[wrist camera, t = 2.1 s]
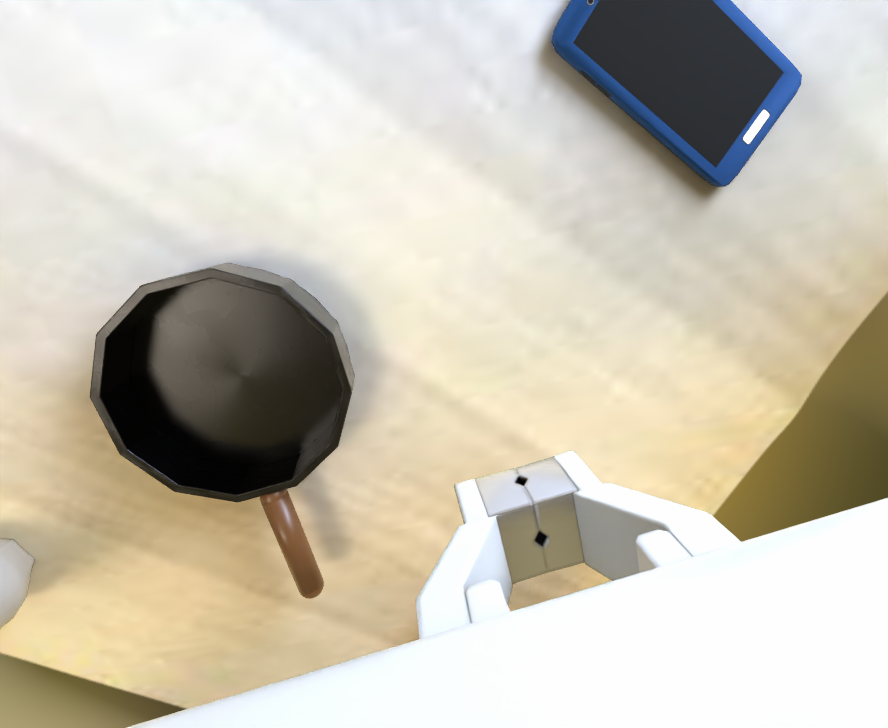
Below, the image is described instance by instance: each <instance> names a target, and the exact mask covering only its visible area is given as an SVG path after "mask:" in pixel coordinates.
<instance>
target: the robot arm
mask: <svg viewBox="0 0 888 728" xmlns="http://www.w3.org/2000/svg"><path fill="white" fill-rule="evenodd" d="M454 488H455V492H456V496H457V500H458V503H459V507H460V511H461V514H462V518H463V522H464V525H461V526H459V527H458V528H457V530H456V532H455V534H454V535H453V537H452V539H451V540H450V542H449V544H448V546H447V547H446V549H445V551H444V552H443V554H442V556H441V557H440V559H439V561H438V563H437V564H436V566H435V568H434V569H433V571H432V573H431V575H430V576H429V578H428V580H427V581H426V583H425V585H424V587H423V588H422V590H421V592H420V593H419V595H418V597H417V599H416V607H417V619H418V630H419V639H418V640H415V641H412V642H408V643H405V644H402V645H398V646H395V647H392V648H388V649H385V650H382V651H379V652H375V653H372V654H369V655H365V656H362V657H359V658H355V659H352V660H349V661H345V662H342V663H339V664H335V665H332V666H329V667H325V668H322V669H319V670H316V671H312V672H309V673H306V674H302V675H299V676H296V677H292V678H289V679H286V680H282V681H279V682H276V683H272V684H269V685H266V686H262V687H259V688H256V689H253V690H249V691H246V692H243V693H239V694H236V695H233V696H229V697H226V698H223V699H219V700H216V701H213V702H209V703H206V704H203V705H200V706H196V707H193V708H190V709H186V710H183V711H180V712H177V713H173V714H170V715H166V716H163V717H160V718H157V719H154V720H150V721H147V722H143V723H140V724H137V725H133V726H130V727H127V728H888V498H886V499H882V500H879V501H876V502H873V503H869V504H866V505H863V506H859V507H856V508H853V509H849V510H846V511H843V512H839V513H836V514H833V515H829V516H826V517H823V518H820V519H816V520H813V521H810V522H806V523H803V524H799V525H796V526H793V527H790V528H787V529H783V530H780V531H776V532H773V533H770V534H766V535H763V536H760V537H756V538H753V539H750V540H746V541H743V542H741V541H740V540H738V539H737V538H736V537H735V536H734V535H733V534H732V533H731V532H729V531H728V530H727V529H726V528H725V527H724V526H723V525H722V524H720V523H719V522H718V521H717V520H716V519H715V518H714V517H713V516H712V515H710V514H709V513H707V512H703V511H700V510H697V509H693V508H690V507H687V506H683V505H680V504H677V503H674V502H670V501H667V500H664V499H660V498H657V497H654V496H650V495H647V494H644V493H640V492H637V491H634V490H630V489H627V488H624V487H621V486H617V485H614V484H611V483H606V484H602V483H601V482H600V481H599V480H598V479H597V477H596V476H595V475H594V474H593V473H592V472H591V470H590V469H589V468H588V467H587V466H586V465H585V463H584V462H583V461H582V460H581V459H580V458H579V456H578V455H577V454H576V453H575V452H574V451H568V452H565V453H562V454H559V455H556V456H553V457H550V458H547V459H544V460H541V461H537V462H534V463H531V464H528V465H525V466H522V467H518V468H515V469H514V468H513V469H509V470H505V471H501V472H498V473H494V474H490V475H486V476H482V477H479V478H475V480H474V479H470V480H467V481H464V482H460V483H457V484H454ZM584 562H585V564H586V565H588V566H589V567H591V568H593V569H594V570H596V571H597V572H599V573H601V574H602V575H604V576H606V577H607V578H609V579H610V580H612V581H611V582H607V583H604V584H601V585H597V586H594V587H591V588H587V589H584V590H581V591H577V592H574V593H571V594H568V595H564V596H561V597H558V598H554V599H551V600H548V601H544V602H541V603H538V604H534V605H531V606H528V607H524V608H521V609H518V610H514V611H511V612H509V610H508V607H507V605H508V602H509V598H510V595H511V591H512V587H513V585H512V584H514V583H517V582H520V581H523V580H526V579H529V578H532V577H535V576H538V575H541V574H544V573H547V572H551V571H554V570H558V569H562V568H566V567H569V566H573V565H577V564H581V563H584Z"/></svg>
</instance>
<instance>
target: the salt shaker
mask: <svg viewBox="0 0 888 728" xmlns="http://www.w3.org/2000/svg"><path fill="white" fill-rule="evenodd" d="M33 563H34V559H33V558H32V557H31V556H30V555H29V554H28V553H27V552H26V551H25V550H23V549H22V548H21V547H20V546H19V545H18V544H17V543H16V542H15V541H14V540H7V539H0V628H1V627H3V626H4V625H5V624H6V623H8V622H9V621H10V620H11V619H13V617H14V616H15V614H16V613H17V611H18V610H19V608H20V607H21V605H22V603H23V602H24V600H25V598H26V597H27V592H28V587H29V582H30V576H31V571H32V567H33Z"/></svg>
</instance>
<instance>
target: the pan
mask: <svg viewBox="0 0 888 728" xmlns="http://www.w3.org/2000/svg"><path fill="white" fill-rule="evenodd" d="M353 382H354V371H353V368H352V365H351V362H350V357H349V353H348V348H347V345H346V343H345V340H344V338H343V335H342V333H341V331H340V328H339V324H338V322H337V321H336V320H335V319H334V318H333V317H332V316H331V315H330V314H329V312H328V311H327V310H326V309H325V308H324V307H323V306H322V305H321V303H320V302H319V301H318V300H317V299H316V298H314V297H313V296H312V295H311V294H309V293H308V292H307V291H306V290H304V289H303V288H301V287H300V286H298V285H297V284H296V283H295V282H294V281H293V280H291V279H288V278H284V277H281V276H279V275H276V274H273V273H270V272H267V271H264V270H260V269H256V268H251V267H243V266H239V265H236V264H232V263H225V264H221V265H217V266H213V267H209V268H205V269H200V270H197V271H193V272H189V273H185V274H181V275H177V276H173V277H169V278H165V279H162V280H158V281H155V282H151V283H147V284H144V285H142V286H140V287H139V288H138V289H137V290H136V291H135V292H134V294H133V295H132V296H131V297H130V298H129V299H128V300H127V301H126V302H125V303H124V304H123V306H122V307H121V308H120V309H119V310H118V311H117V312H116V313H115V314H114V315H113V316H112V318H111V319H110V320H109V321H108V322H107V323H106V324H105V325H104V326H103V327H102V328H101V330H100V331H99V332H98V333H97V335H96V342H95V352H94V361H93V371H92V381H91V390H90V398H91V400H92V402H93V404H94V406H95V408H96V410H97V412H98V414H99V415H100V417H101V419H102V421H103V423H104V425H105V427H106V429H107V431H108V433H109V435H110V436H111V438H112V440H113V442H114V444H115V446H116V448H117V450H118V452H119V454H120V455H122V456H123V457H124V458H126V459H127V460H129V461H130V462H132V463H133V464H135V465H136V466H138V467H139V468H141V469H142V470H143V471H145V472H146V473H148V474H149V475H151V476H152V477H154V478H155V479H157V480H158V481H160V482H161V483H162V484H164V485H165V486H167V487H168V488H170V489H171V490H173V491H175V492H179V493H185V494H191V495H197V496H203V497H209V498H215V499H221V500H227V501H233V502H241V501H245V500H248V499H252V498H255V497H259V496H260V501H261V504H262V506H263V508H264V511H265V513H266V515H267V518H268V520H269V522H270V525H271V527H272V529H273V532H274V534H275V536H276V539H277V541H278V543H279V546H280V548H281V550H282V553H283V555H284V557H285V560H286V562H287V564H288V567H289V569H290V571H291V574H292V576H293V578H294V581H295V583H296V585H297V588H298V590H299V592H300V594H301V595H302V596H303V597H305V598H309V599H310V598H314V597H316V596H318V595H319V594H320V593H321V591H322V589H323V586H324V581H323V578H322V575H321V573H320V570H319V568H318V565H317V563H316V560H315V558H314V555H313V553H312V550H311V548H310V545H309V543H308V540H307V538H306V536H305V533H304V531H303V528H302V526H301V523H300V521H299V518H298V516H297V513H296V511H295V508H294V506H293V503H292V501H291V498H290V496H289V493H288V491H287V489H288V488H291V487H295V486H297V485H298V484H299V483H300V482H301V481H302V480H304V479H305V478H306V477H307V476H308V475H309V474H310V473H311V472H312V471H313V470H314V469H315V468H316V467H317V466H318V465H319V464H320V463H321V462H322V461H323V460H324V459H325V458H327V457H328V456H329V455H330V454H331V453H332V452H333V451H334V450H335V449H336V448H337V447H338V445H339V441H340V437H341V433H342V429H343V425H344V421H345V417H346V414H347V410H348V406H349V402H350V398H351V394H352V389H353Z"/></svg>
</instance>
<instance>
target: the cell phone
mask: <svg viewBox="0 0 888 728" xmlns="http://www.w3.org/2000/svg"><path fill="white" fill-rule="evenodd" d="M552 44H553V47H554V49H555V51H556V52H557V53H558V54H559V55H560V56H561V57H562V58H563V59H564V60H565V61H566V62H568V63H569V64H570V65H571V66H572V67H573V68H575V69H576V70H577V71H578V72H579V73H580V74H582V75H583V76H584V77H585V78H586V79H587V80H589V81H590V82H591V83H592V84H593V85H594V86H596V87H597V88H598V89H599V90H600V91H601V92H603V93H604V94H605V95H606V96H607V97H608V98H610V99H611V100H612V101H613V102H614V103H616V104H617V105H618V106H619V107H620V108H621V109H623V110H624V111H625V112H626V113H627V114H628V115H630V116H631V117H632V118H633V119H634V120H635V121H637V122H638V123H639V124H640V125H641V126H642V127H644V128H645V129H646V130H647V131H648V132H649V133H651V134H652V135H653V136H654V137H655V138H657V139H658V140H659V141H660V142H661V143H662V144H664V145H665V146H666V147H667V148H668V149H669V150H671V151H672V152H673V153H674V154H675V155H676V156H678V157H679V158H680V159H681V160H682V161H683V162H685V163H686V164H687V165H688V166H689V167H690V168H692V169H693V170H694V171H695V172H696V173H697V174H699V175H700V176H701V177H702V178H704V179H705V180H706V181H708V182H709V183H710V184H712V185H714V186H717V187H722V186H726V185H728V184H730V182H731V181H732V180H733V179H734V178H735V177H736V176H737V175H738V173H739V172H740V171H741V169H742V168H743V167H744V165H745V164H746V162H747V161H748V160H749V158H750V157H751V155H752V154H753V153H754V151H755V150H756V148H757V147H758V146H759V144H760V143H761V142H762V140H763V139H764V137H765V136H766V135H767V133H768V132H769V130H770V129H771V128H772V126H773V125H774V123H775V122H776V121H777V119H778V118H779V117H780V115H781V114H782V112H783V111H784V110H785V108H786V107H787V105H788V104H789V103H790V101H791V100H792V98H793V97H794V96H795V94H796V93H797V91H798V89H799V87H800V85H801V77H802V75H801V74H800V72H799V71H798V70H797V69H796V67H795V66H794V65H793V64H792V63H791V62H790V61H789V60H788V59H787V58H786V57H785V56H784V55H783V54H782V53H781V52H780V50H779V49H778V48H777V47H776V46H775V45H774V44H773V43H772V42H771V41H770V40H769V39H768V38H767V37H766V36H765V35H764V34H763V33H762V32H761V31H760V30H759V29H758V28H757V27H756V26H755V25H754V24H753V23H752V22H751V21H750V20H749V19H748V18H747V17H746V16H745V15H744V14H743V13H742V12H741V11H740V10H739V9H738V8H737V7H736V5H735V4H734V3H733V2H732V1H731V0H571V1H570V2H569V4H568V6H567V7H566V9H565V11H564V12H563V14H562V16H561V17H560V19H559V21H558V23H557V25H556V27H555V29H554V31H553V35H552Z"/></svg>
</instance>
